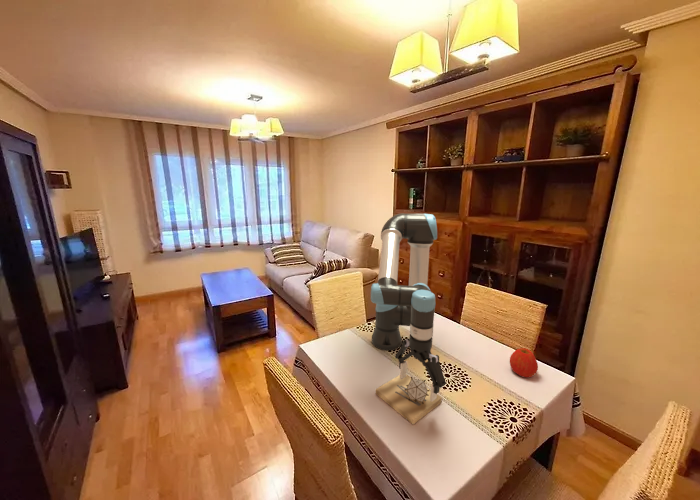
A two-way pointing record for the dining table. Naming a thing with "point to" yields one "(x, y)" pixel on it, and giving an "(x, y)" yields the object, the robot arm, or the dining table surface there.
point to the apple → (523, 362)
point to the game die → (417, 390)
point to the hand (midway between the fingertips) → (417, 387)
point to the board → (406, 399)
